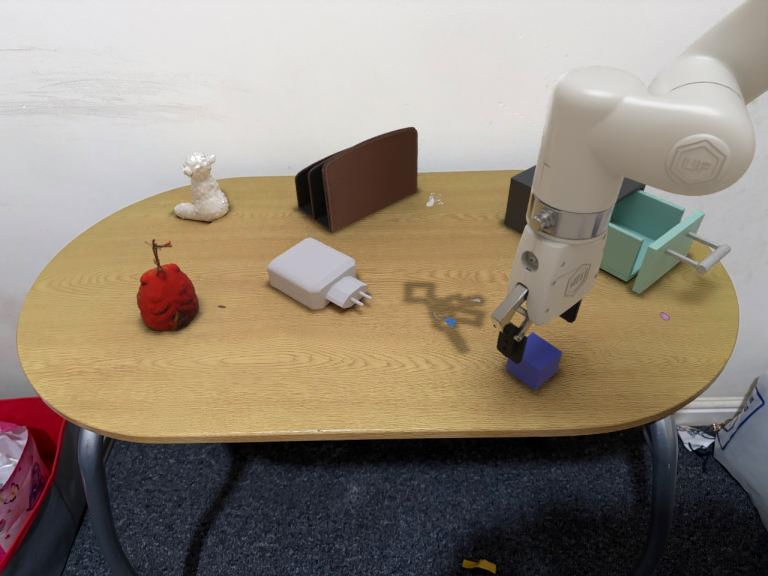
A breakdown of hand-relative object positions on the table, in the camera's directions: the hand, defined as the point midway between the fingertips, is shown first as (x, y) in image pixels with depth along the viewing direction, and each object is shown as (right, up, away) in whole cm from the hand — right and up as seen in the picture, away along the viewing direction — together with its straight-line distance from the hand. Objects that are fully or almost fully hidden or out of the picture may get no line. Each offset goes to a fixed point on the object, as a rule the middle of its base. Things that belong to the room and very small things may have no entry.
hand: (536, 335), depth 61 cm
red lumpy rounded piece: (-47, +1, +13) cm, 49 cm away
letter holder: (-22, +20, +35) cm, 46 cm away
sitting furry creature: (-48, +19, +34) cm, 62 cm away
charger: (-26, +4, +17) cm, 31 cm away
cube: (0, -5, +4) cm, 7 cm away
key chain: (-8, +2, +13) cm, 16 cm away
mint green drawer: (+21, +9, +19) cm, 30 cm away
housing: (+13, +15, +27) cm, 34 cm away
